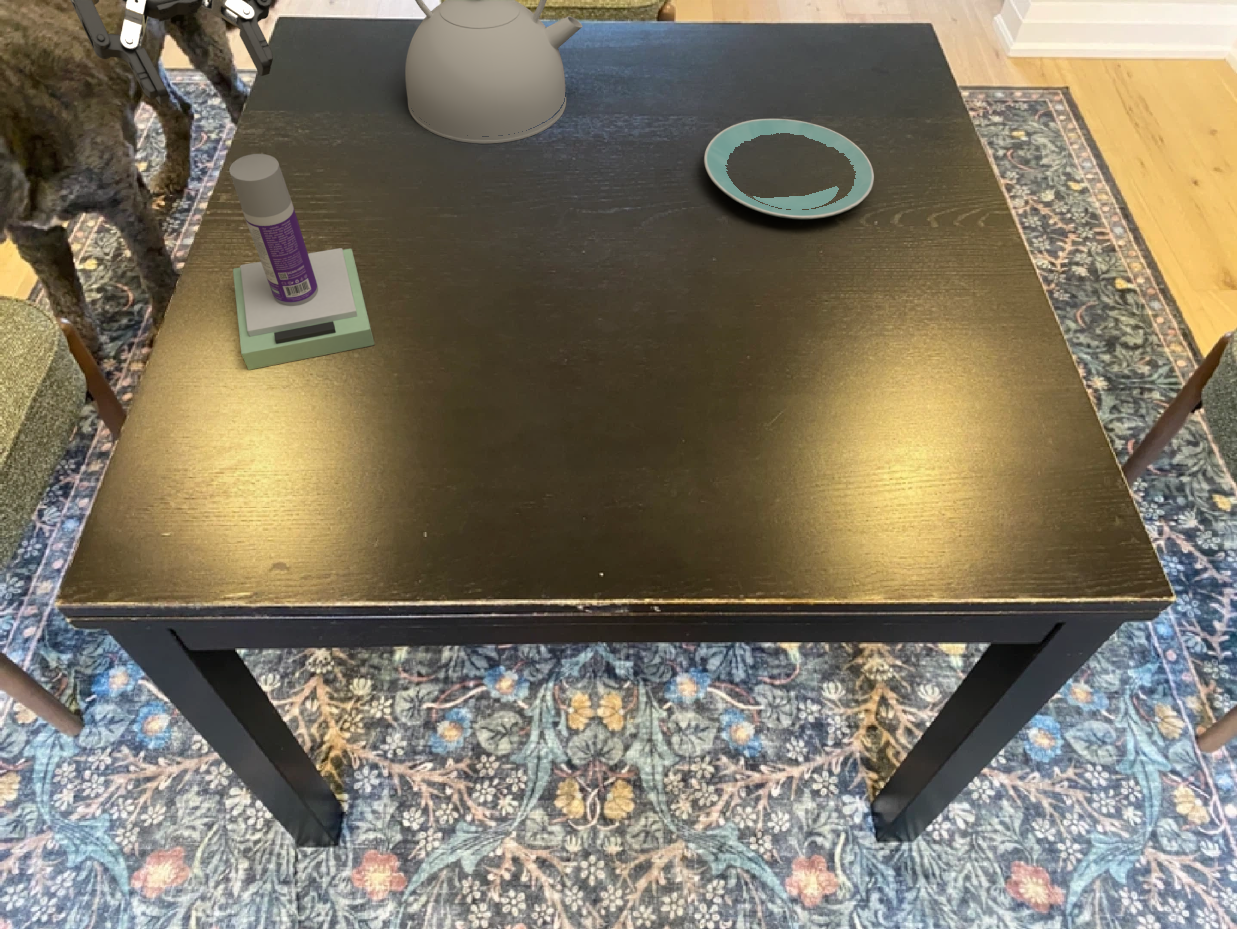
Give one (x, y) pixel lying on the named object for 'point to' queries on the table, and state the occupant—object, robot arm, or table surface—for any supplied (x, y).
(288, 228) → the container
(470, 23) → the kettle
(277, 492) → the table surface
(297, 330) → the scale
